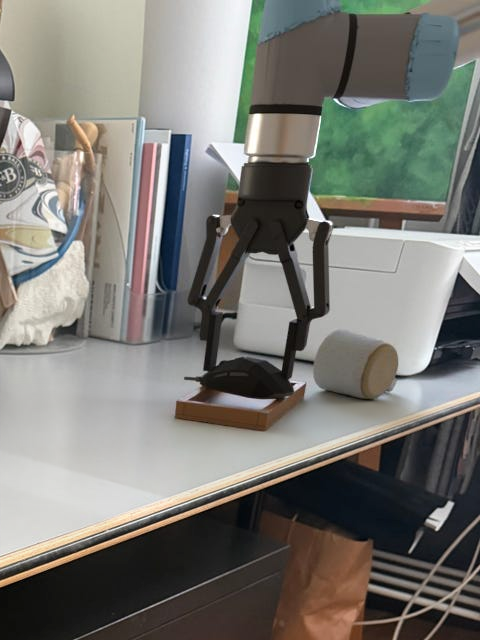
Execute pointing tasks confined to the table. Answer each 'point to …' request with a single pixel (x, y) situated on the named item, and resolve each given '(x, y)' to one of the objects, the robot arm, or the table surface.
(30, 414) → the table surface
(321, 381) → the ceramic mug
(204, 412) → the wooden tray
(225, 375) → the gaming mouse
